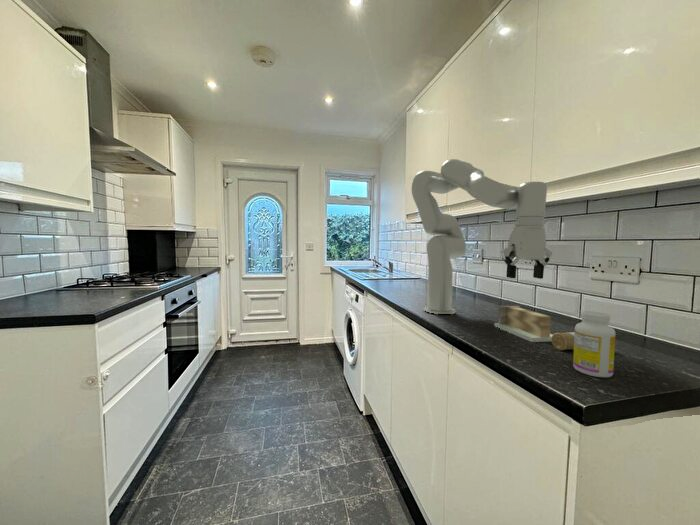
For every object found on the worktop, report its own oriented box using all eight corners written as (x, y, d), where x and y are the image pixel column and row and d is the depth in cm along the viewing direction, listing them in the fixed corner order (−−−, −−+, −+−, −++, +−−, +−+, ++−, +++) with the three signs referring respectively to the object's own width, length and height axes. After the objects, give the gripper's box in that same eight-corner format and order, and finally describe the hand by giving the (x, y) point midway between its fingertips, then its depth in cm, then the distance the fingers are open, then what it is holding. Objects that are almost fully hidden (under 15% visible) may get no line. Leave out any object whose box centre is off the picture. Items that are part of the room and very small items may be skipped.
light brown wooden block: (555, 336, 82) (556, 316, 81) (534, 337, 80) (535, 317, 80) (516, 322, 97) (517, 305, 96) (498, 323, 95) (499, 306, 95)
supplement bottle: (599, 367, 64) (603, 311, 63) (621, 380, 57) (625, 318, 56) (566, 364, 65) (569, 309, 64) (583, 376, 59) (587, 316, 58)
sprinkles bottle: (557, 353, 74) (600, 351, 76) (569, 344, 71) (613, 342, 73) (547, 337, 77) (588, 336, 80) (557, 329, 74) (600, 327, 76)
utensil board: (494, 326, 96) (494, 323, 96) (517, 325, 97) (517, 322, 97) (531, 342, 80) (532, 338, 80) (559, 340, 82) (559, 336, 82)
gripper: (543, 225, 92) (538, 276, 94) (496, 222, 89) (491, 276, 91) (564, 224, 85) (558, 280, 86) (513, 221, 82) (508, 279, 83)
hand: (524, 277), depth 89 cm, fingers open, 9 cm apart
